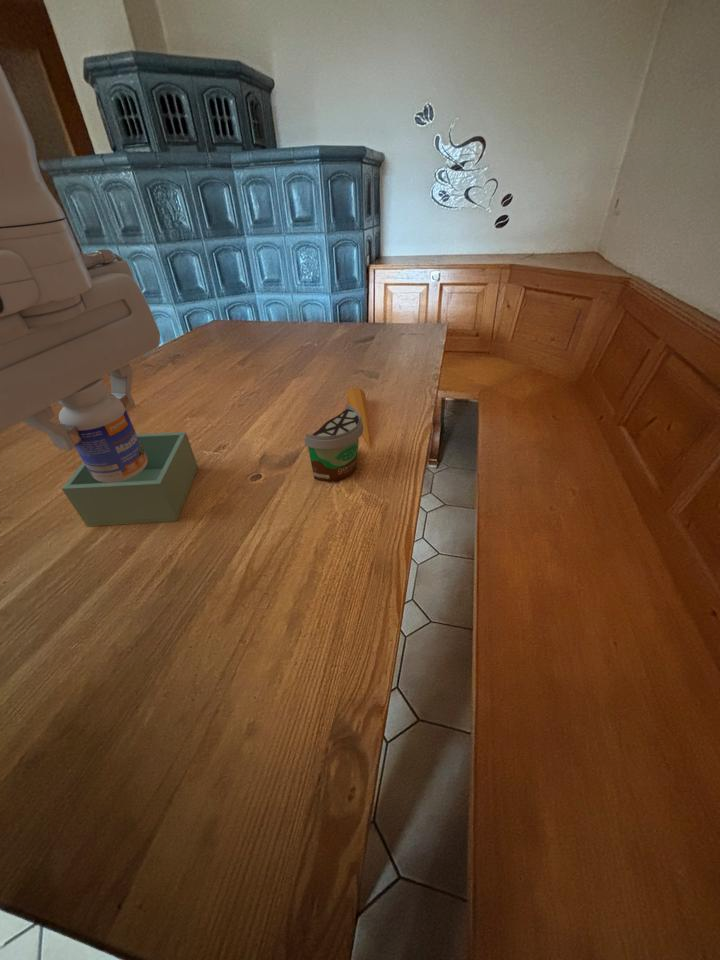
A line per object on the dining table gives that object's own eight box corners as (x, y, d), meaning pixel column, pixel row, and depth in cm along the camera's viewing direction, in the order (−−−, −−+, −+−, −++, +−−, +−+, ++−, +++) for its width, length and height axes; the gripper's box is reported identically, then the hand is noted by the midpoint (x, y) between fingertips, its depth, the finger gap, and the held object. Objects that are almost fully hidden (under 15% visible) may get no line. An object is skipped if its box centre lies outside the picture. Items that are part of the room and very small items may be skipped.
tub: (177, 521, 60) (160, 483, 55) (86, 526, 59) (61, 488, 54) (198, 467, 70) (185, 431, 65) (122, 471, 69) (103, 435, 64)
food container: (337, 496, 64) (335, 447, 58) (308, 483, 67) (303, 434, 60) (375, 459, 72) (377, 412, 66) (348, 448, 75) (347, 402, 68)
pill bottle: (141, 481, 39) (98, 395, 33) (84, 487, 38) (30, 400, 32) (154, 451, 43) (119, 368, 37) (103, 455, 43) (58, 372, 36)
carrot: (349, 403, 90) (341, 388, 87) (367, 396, 89) (360, 380, 86) (364, 461, 76) (355, 445, 73) (385, 452, 75) (377, 436, 72)
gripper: (93, 243, 37) (145, 378, 46) (-190, 303, 22) (-30, 485, 31) (148, 246, 36) (191, 384, 44) (-114, 312, 20) (30, 500, 29)
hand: (99, 427), depth 37 cm, fingers closed on pill bottle, 5 cm apart
